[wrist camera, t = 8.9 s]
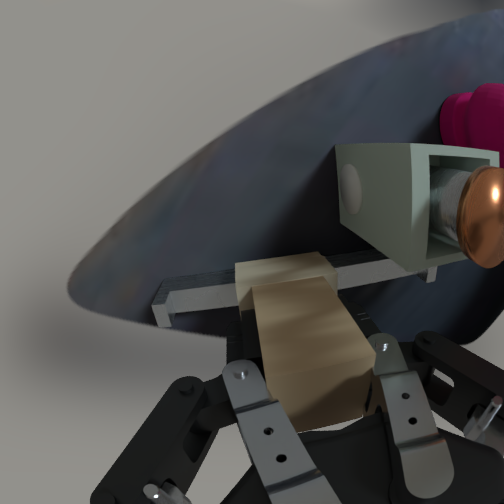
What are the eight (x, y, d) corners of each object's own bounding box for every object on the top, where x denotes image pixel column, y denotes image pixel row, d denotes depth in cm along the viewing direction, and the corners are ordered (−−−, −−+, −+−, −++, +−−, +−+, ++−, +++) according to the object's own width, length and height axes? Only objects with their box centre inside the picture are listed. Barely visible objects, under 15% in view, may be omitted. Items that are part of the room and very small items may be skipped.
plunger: (441, 156, 12) (523, 170, 6) (441, 223, 13) (514, 259, 8) (387, 155, 12) (473, 166, 6) (388, 230, 13) (463, 276, 8)
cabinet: (412, 144, 16) (498, 151, 8) (413, 214, 18) (492, 251, 10) (331, 144, 16) (405, 142, 8) (337, 223, 17) (404, 273, 10)
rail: (410, 242, 18) (438, 259, 15) (408, 261, 19) (434, 280, 15) (164, 278, 18) (151, 305, 15) (169, 298, 18) (158, 327, 15)
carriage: (317, 249, 17) (396, 346, 8) (319, 300, 18) (378, 412, 9) (234, 260, 16) (239, 379, 8) (243, 312, 18) (254, 439, 9)
